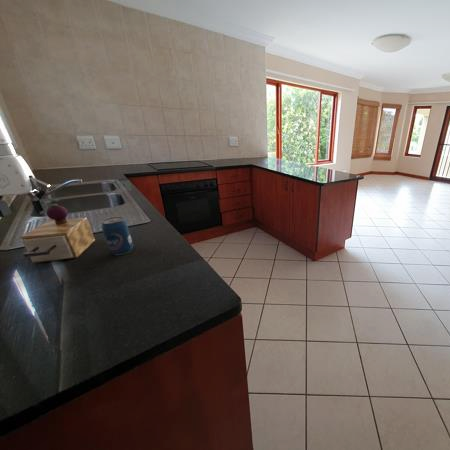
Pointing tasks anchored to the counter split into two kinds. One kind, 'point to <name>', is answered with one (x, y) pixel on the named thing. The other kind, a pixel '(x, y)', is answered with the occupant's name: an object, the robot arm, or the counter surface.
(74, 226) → the cabinet
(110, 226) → the soda can
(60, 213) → the mangosteen
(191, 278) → the counter surface
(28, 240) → the drawer
